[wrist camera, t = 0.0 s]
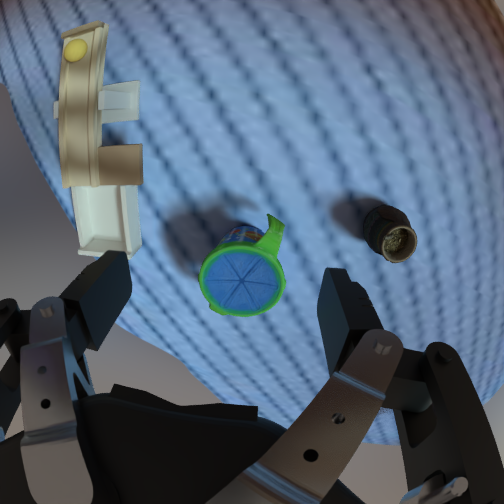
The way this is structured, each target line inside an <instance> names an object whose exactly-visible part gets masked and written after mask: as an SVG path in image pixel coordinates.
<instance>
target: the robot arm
mask: <svg viewBox="0 0 504 504" xmlns="http://www.w3.org/2000/svg"><path fill="white" fill-rule="evenodd" d="M131 293H132V281H131V275H130V270H129V264H128V258H127V254H126V252H124V251H116V250H107V251H106V252H105V253H104V254H103V255H102V256H101V257H100V258H99V259H98V260H97V261H95V262H93V263H91V264H90V265H88V266H87V267H86V268H85V269H84V270H83V271H82V272H81V274H79V275H78V276H77V277H76V279H75V280H73V281H72V282H71V284H70V285H69V286H68V287H67V288H66V289H65V290H64V291H63V292H62V293H61V295H60V296H59V297H53V296H52V297H46V298H44V299H41V300H40V301H38V302H37V303H36V304H35V305H34V306H33V307H32V309H31V310H20V309H19V307H18V304H17V302H16V300H14V299H11V298H7V299H4V300H1V301H0V348H1V347H2V345H3V344H5V345H6V347H7V349H8V351H9V352H10V354H11V356H10V357H9V359H8V360H7V362H6V363H5V365H4V367H3V368H2V370H1V371H0V504H365V503H364V502H363V501H362V500H361V499H360V498H358V497H357V496H356V495H355V494H354V493H353V492H352V491H351V490H350V489H348V488H347V487H346V486H345V485H344V484H343V483H342V482H341V481H340V480H339V479H338V477H339V476H340V474H341V473H342V472H343V470H344V469H345V467H346V466H347V464H348V463H349V461H350V459H351V458H352V456H353V455H354V453H355V452H356V450H357V448H358V447H359V445H360V443H361V442H362V440H363V438H364V437H365V435H366V433H367V431H368V430H369V428H370V426H371V424H372V423H373V421H374V419H375V417H376V415H377V413H378V411H379V409H380V407H383V408H389V409H393V412H394V416H395V420H396V425H397V430H398V434H399V439H400V444H401V449H402V455H403V460H404V466H405V472H406V479H407V486H408V493H407V494H405V495H404V497H403V498H402V499H401V501H400V504H504V468H503V464H502V461H501V457H500V454H499V451H498V448H497V444H496V442H495V438H494V435H493V433H492V430H491V427H490V424H489V422H488V419H487V417H486V414H485V411H484V409H483V406H482V404H481V402H480V399H479V397H478V394H477V392H476V390H475V388H474V385H473V383H472V381H471V379H470V377H469V375H468V373H467V371H466V368H465V366H464V364H463V362H462V360H461V358H460V356H459V355H458V353H457V352H456V350H455V349H454V348H452V347H451V346H450V345H448V344H446V343H443V342H433V343H431V344H429V345H428V346H427V348H426V350H425V351H424V352H419V351H415V350H410V349H406V348H403V344H402V342H401V340H400V339H399V338H398V337H397V336H396V335H395V334H393V333H391V332H389V331H387V330H384V328H383V326H382V324H381V322H380V319H379V317H378V315H377V313H376V311H375V309H374V307H373V304H372V302H371V300H369V296H368V294H367V292H366V290H365V289H364V288H363V287H362V286H361V285H360V284H359V283H358V282H351V280H350V278H349V275H348V273H347V271H346V269H342V268H326V269H325V272H324V276H323V280H322V285H321V289H320V293H319V298H318V303H317V316H318V321H319V325H320V330H321V335H322V340H323V344H324V349H325V354H326V359H327V365H328V370H329V375H330V379H329V380H328V381H327V383H326V384H325V385H324V386H323V388H322V389H321V390H320V392H319V393H318V394H317V395H316V397H315V398H314V399H313V400H312V402H311V403H310V404H309V405H308V406H307V408H306V409H305V410H304V411H303V412H302V414H301V415H300V416H299V417H298V418H297V419H296V421H295V422H294V423H293V424H292V425H291V426H290V427H289V428H288V430H287V429H286V428H284V427H283V426H281V425H279V424H277V423H275V422H273V421H270V420H268V419H265V418H262V417H258V406H247V405H234V404H224V403H215V404H204V405H189V406H179V405H176V404H173V403H171V402H169V401H166V400H164V399H162V398H160V397H157V396H155V395H153V394H151V393H149V392H146V391H143V390H139V389H134V388H130V387H126V386H122V385H118V384H114V385H113V388H112V390H111V392H110V393H100V394H95V391H94V388H93V384H92V380H91V377H90V372H89V368H88V364H87V360H86V357H85V354H84V351H85V350H86V348H87V349H91V350H95V351H98V349H99V348H100V346H101V344H102V342H103V341H104V339H105V337H106V336H107V334H108V332H109V331H110V329H111V327H112V326H113V324H114V322H115V321H116V319H117V318H118V316H119V314H120V313H121V311H122V309H123V308H124V306H125V305H126V303H127V302H128V300H129V298H130V296H131ZM20 402H21V404H22V415H23V424H24V430H23V431H21V432H19V433H17V434H15V435H14V436H12V437H10V438H8V439H6V440H5V435H6V432H7V430H8V428H9V426H10V423H11V421H12V419H13V417H14V415H15V413H16V411H17V409H18V407H19V404H20ZM432 403H433V406H434V409H435V412H436V416H437V420H436V417H435V414H434V411H433V408H432V405H431V404H432Z"/></svg>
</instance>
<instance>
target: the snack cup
mask: <svg viewBox="0 0 504 504" xmlns="http://www.w3.org/2000/svg"><path fill="white" fill-rule="evenodd" d="M267 216H268V221H269V229H268V230H267V232H266V233H265V234H264V233H263V232H262V230H260V229H258V228H254V227H250V226H241V227H235V228H234V229H232V230H231V231H229V232H228V233H227V234H226V235H225V236H224V237H223V239H222V240H221V241H220V243H219V244H218V245H217V247H216V248H215V249H213V250H212V251H211V252H210V253H209V254H208V255H207V256H206V258H205V259H204V261H203V263H202V266H201V269H200V273H199V274H198V281H199V284H200V289H201V291H202V293H203V295H204V297H205V298H206V300H207V301H208V302H209V303H210V304H209V308H210V309H211V310H213V311H215V312H217V313H219V314H221V315H227V314H229V315H233V316H240V317H249V316H255V315H259V314H261V313H264V312H266V311H268V310H269V309H271V308H272V307H273V306H275V304H276V303H277V302H278V301H279V299H280V298H281V296H282V293H283V290H284V289H285V286H286V280H285V278H284V273H283V269H282V266H281V264H280V262H279V260H278V259H277V254H278V251H279V248H280V244H281V240H282V236H283V230H284V227H285V225H284V224H283V223H282V222H281V221H279V220H278V219H276V218H275V217H273V216H272V215H270V214H267Z"/></svg>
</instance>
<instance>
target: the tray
mask: <svg viewBox="0 0 504 504" xmlns="http://www.w3.org/2000/svg"><path fill="white" fill-rule="evenodd" d="M71 190H72V198H73V205H74V212H75V219H76V225H77V230H78V236H79V241H80V246H81V248H79V249H78V254H79V255H88V256H97V257H101V256H102V255H103V254H104V253H105V252H106V251H107V250H116V251H124V252H126V254H127V258H128V260H130V259H131V258H132V257H133V256H134V254H135V253H136V252H137V251H138V250H139V249H140V247H141V246H142V239H141V229H140V218H139V206H138V191H137V185H100V186H98V187H91V186H73V187H71Z"/></svg>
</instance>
